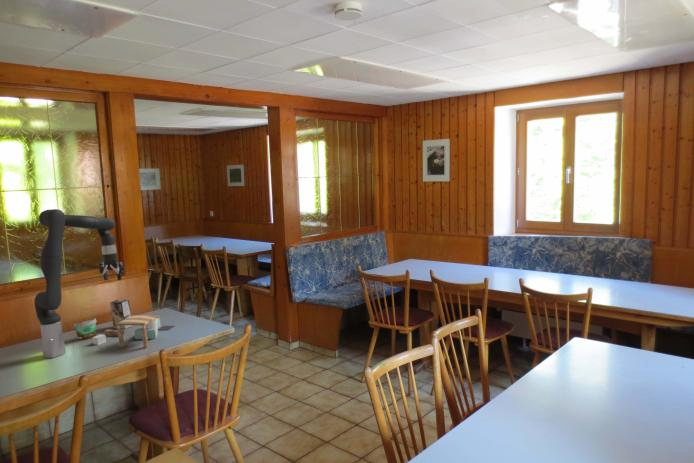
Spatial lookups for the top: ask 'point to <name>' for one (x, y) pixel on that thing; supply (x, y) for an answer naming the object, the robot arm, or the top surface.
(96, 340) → the grey block
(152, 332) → the crook
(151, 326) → the dixie cup
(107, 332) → the walnut stick
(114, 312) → the coffee box
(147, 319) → the light wood legged piece
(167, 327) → the dark grey flat slab
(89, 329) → the food container
